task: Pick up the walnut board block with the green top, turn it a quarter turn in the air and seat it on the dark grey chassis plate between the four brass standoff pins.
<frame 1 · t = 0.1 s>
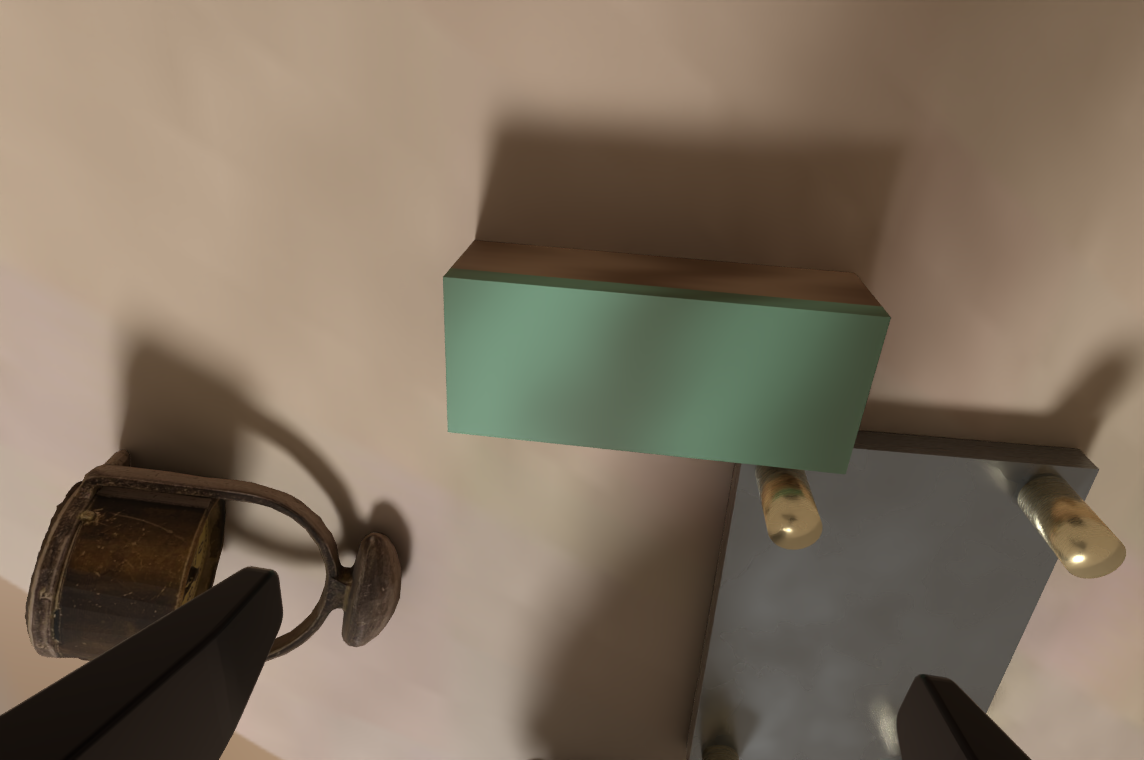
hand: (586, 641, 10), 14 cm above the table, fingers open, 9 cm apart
board block: (652, 325, 23), on the table
chassis plate: (850, 621, 28), on the table
bronze antique clock: (258, 535, 30), on the table
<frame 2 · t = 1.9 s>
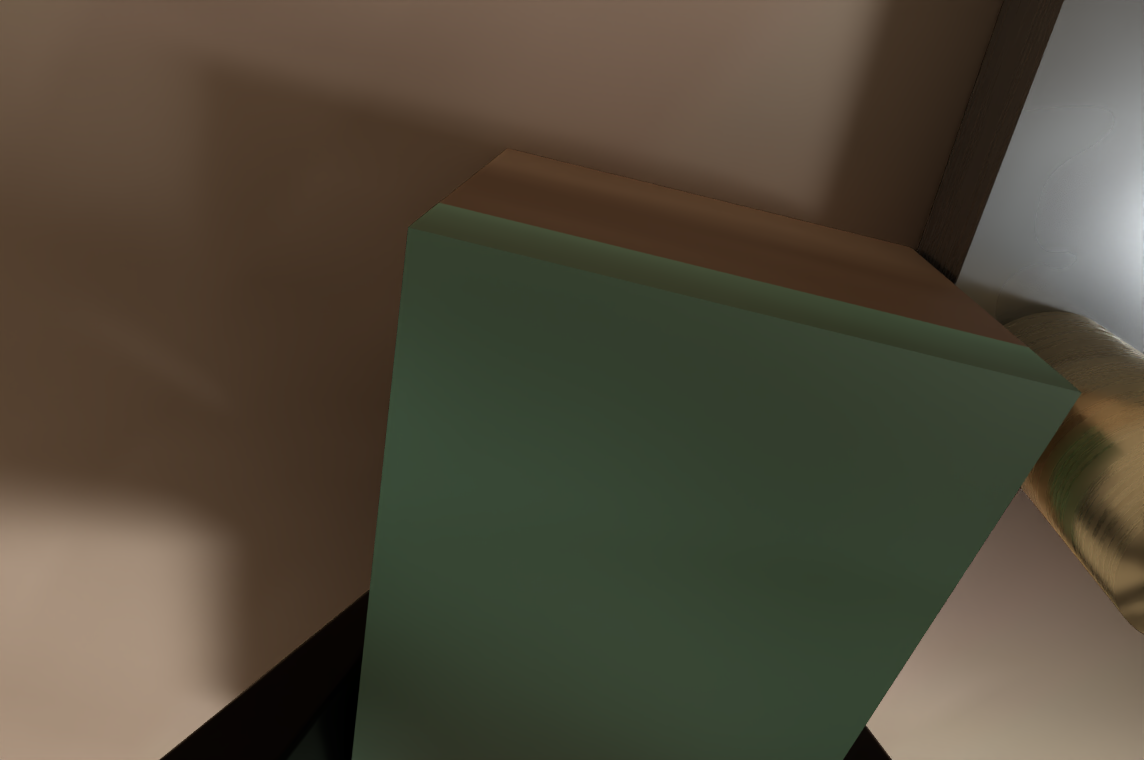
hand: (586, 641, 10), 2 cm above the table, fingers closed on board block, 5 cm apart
board block: (596, 554, 11), on the table, touching gripper
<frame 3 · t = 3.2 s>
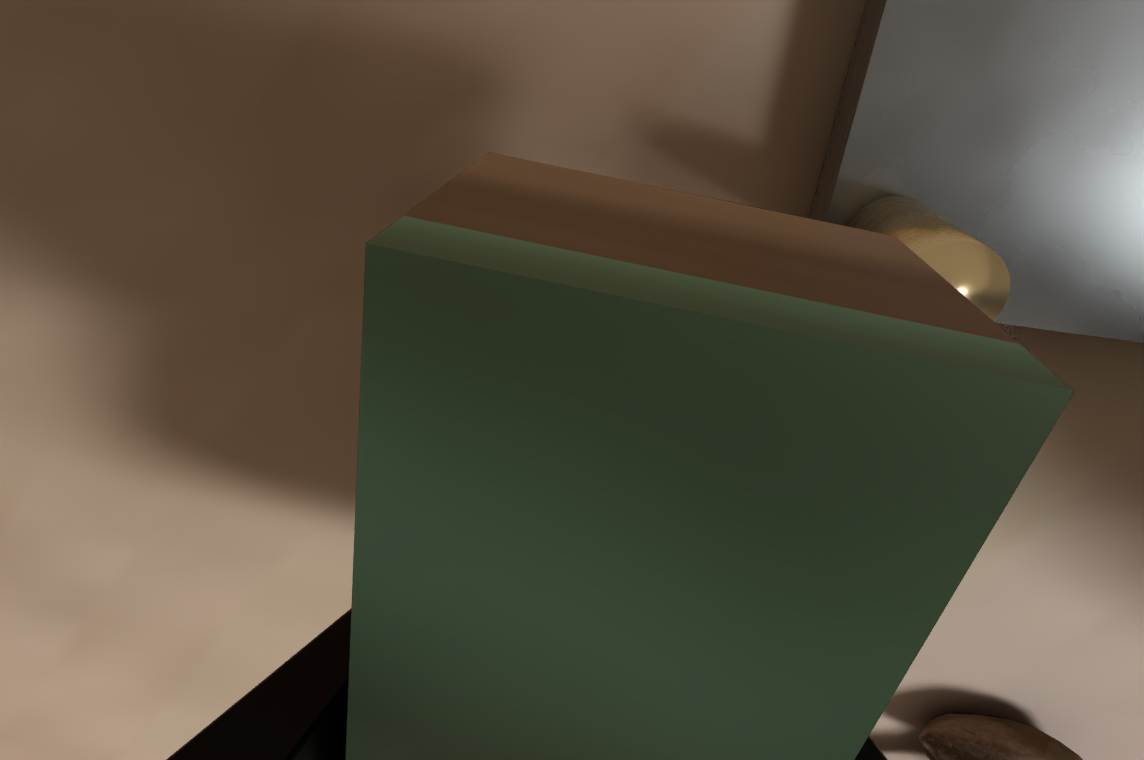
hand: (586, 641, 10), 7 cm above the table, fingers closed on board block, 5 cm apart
board block: (595, 564, 11), point 6 cm above the table, touching gripper
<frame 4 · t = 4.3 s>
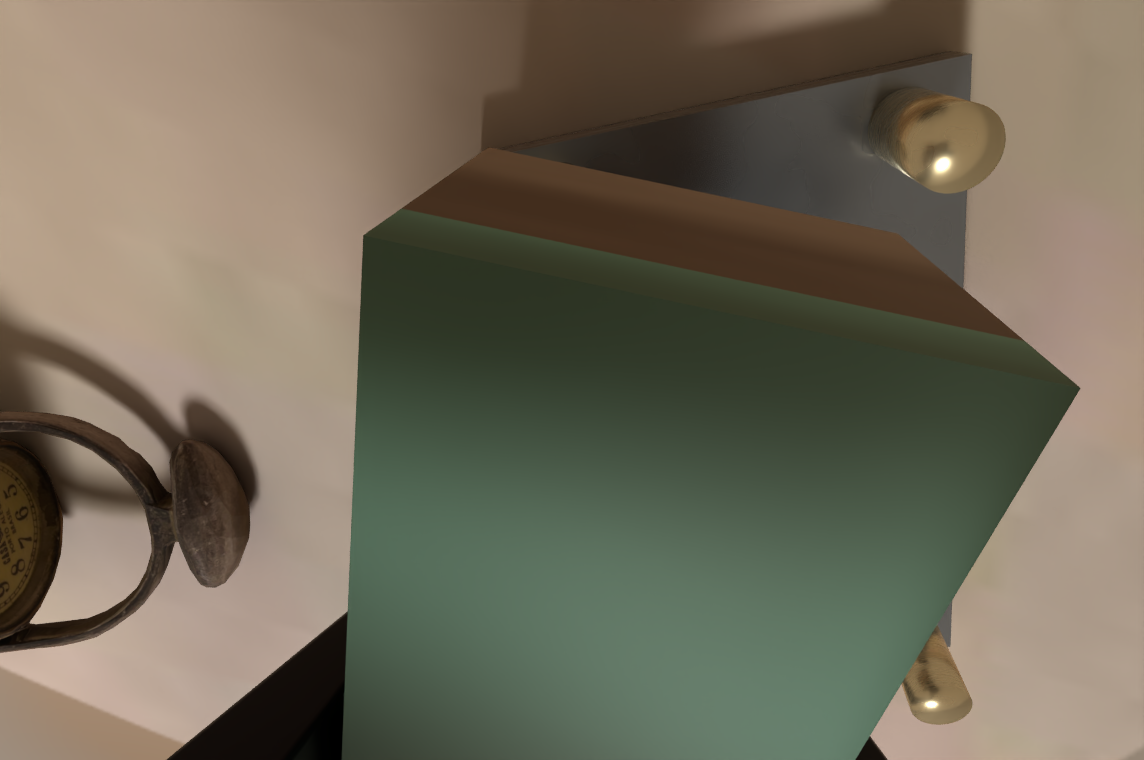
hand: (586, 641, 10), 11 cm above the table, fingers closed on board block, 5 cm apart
board block: (594, 563, 11), point 10 cm above the table, touching gripper
chassis plate: (739, 416, 20), on the table
bronze antique clock: (97, 490, 25), on the table
when the fingers open (4 cm above the table, at t = 6.4 s): board block drops 1 cm, resting on chassis plate.
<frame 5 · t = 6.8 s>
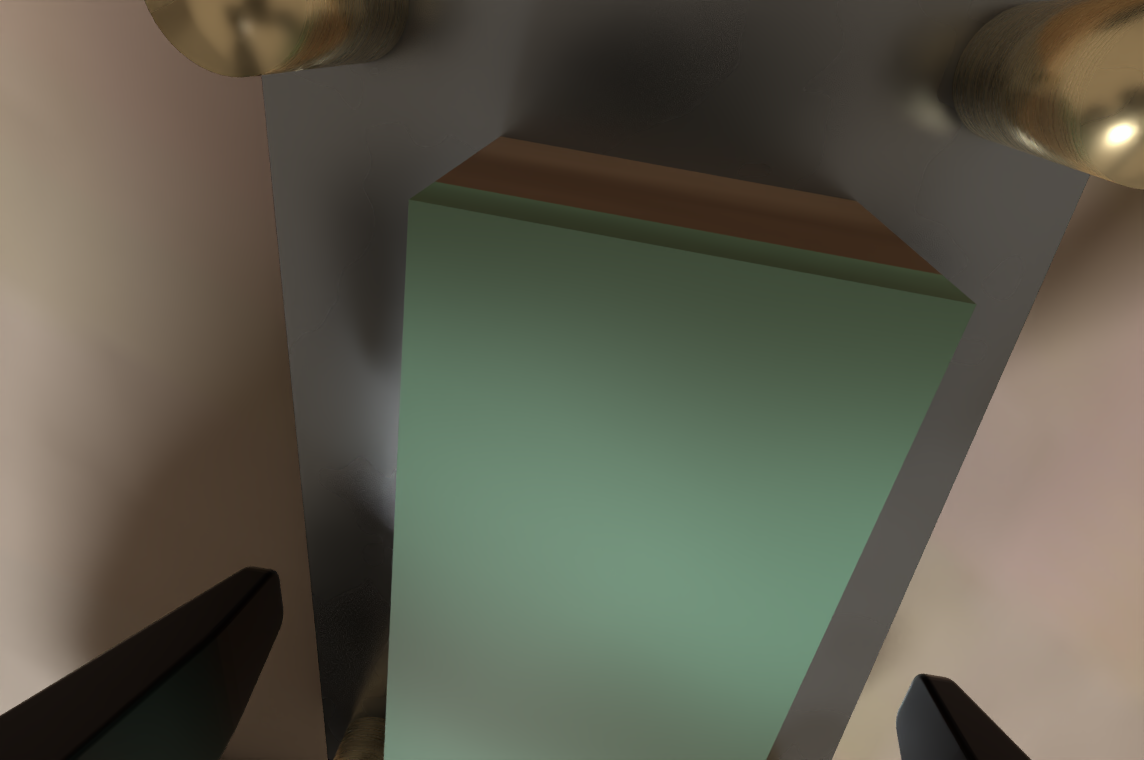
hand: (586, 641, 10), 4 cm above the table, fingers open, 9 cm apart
board block: (601, 509, 12), point 1 cm above the table, touching chassis plate
chassis plate: (607, 470, 13), on the table
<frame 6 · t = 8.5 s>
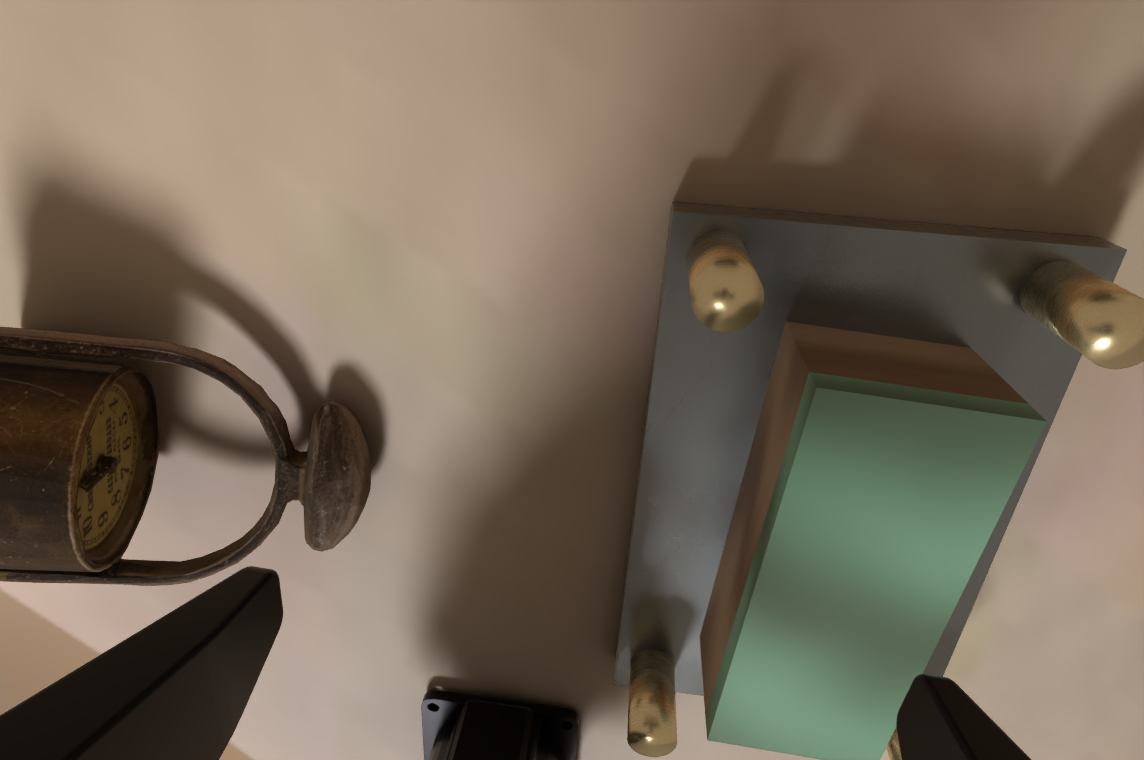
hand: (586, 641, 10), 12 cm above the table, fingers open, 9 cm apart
board block: (817, 511, 21), point 1 cm above the table, touching chassis plate
chassis plate: (810, 488, 22), on the table
bronze antique clock: (201, 432, 25), on the table
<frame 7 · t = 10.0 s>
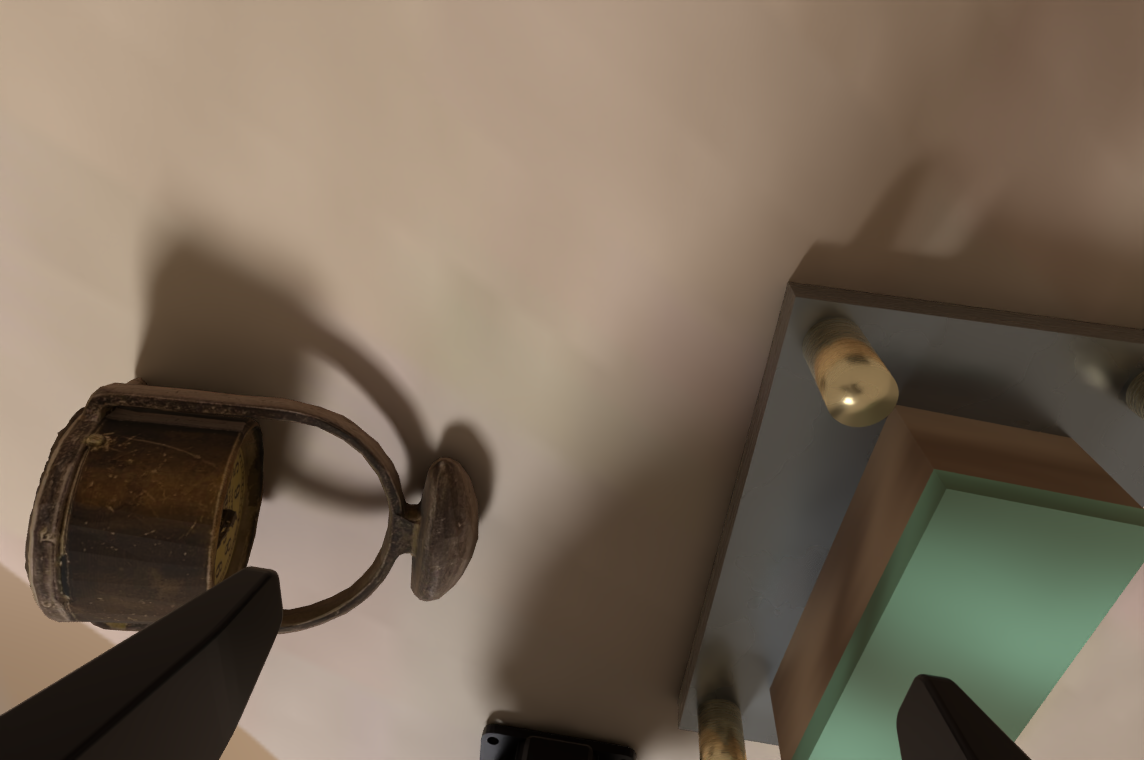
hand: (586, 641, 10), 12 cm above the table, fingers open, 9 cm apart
board block: (900, 579, 22), point 1 cm above the table, touching chassis plate
chassis plate: (890, 554, 23), on the table
bronze antique clock: (304, 478, 25), on the table
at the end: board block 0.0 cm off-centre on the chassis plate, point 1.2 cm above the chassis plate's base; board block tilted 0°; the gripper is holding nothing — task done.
